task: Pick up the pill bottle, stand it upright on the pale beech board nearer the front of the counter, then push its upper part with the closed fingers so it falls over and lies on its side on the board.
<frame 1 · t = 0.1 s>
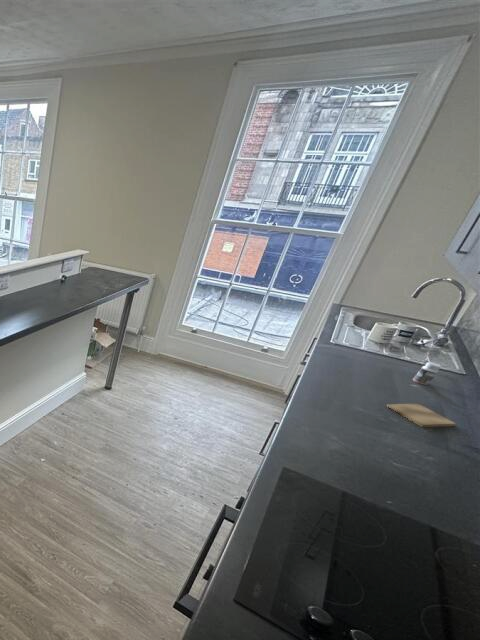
board: (418, 415, 141), on the worktop
pill bottle: (420, 382, 165), on the worktop
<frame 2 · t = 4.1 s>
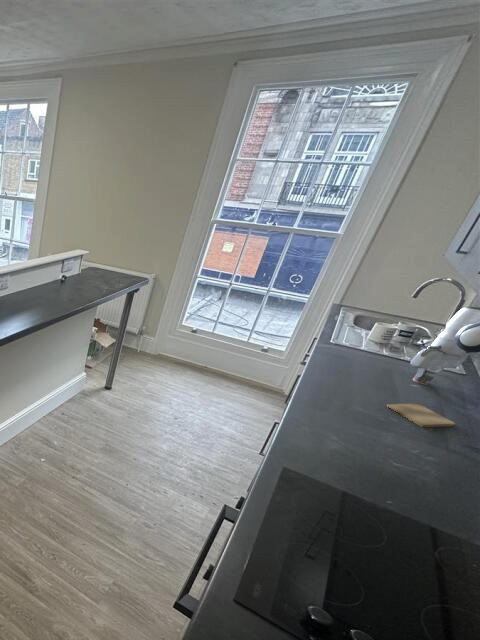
hand: (424, 376, 163), 3 cm above the worktop, tool pointing down, fingers closed on pill bottle, 5 cm apart
pill bottle: (419, 382, 165), on the worktop, touching gripper
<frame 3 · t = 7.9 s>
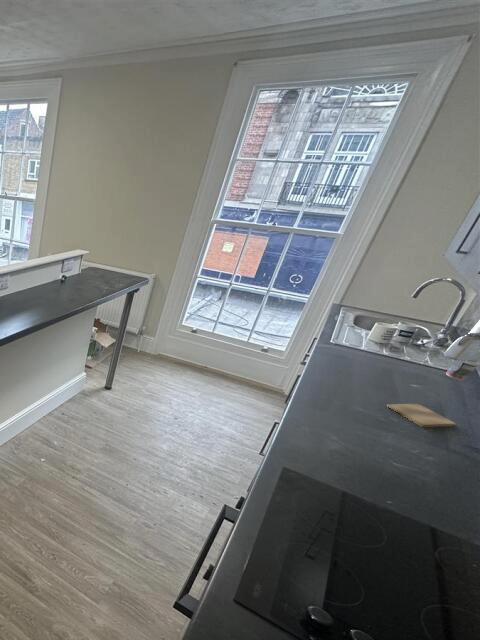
hand: (461, 370, 136), 17 cm above the worktop, tool pointing down, fingers closed on pill bottle, 5 cm apart
pill bottle: (454, 377, 137), point 14 cm above the worktop, touching gripper
when the fingers open (4 cm above the worktop, at t = 11.8 s): pill bottle stays where it is, resting on board.
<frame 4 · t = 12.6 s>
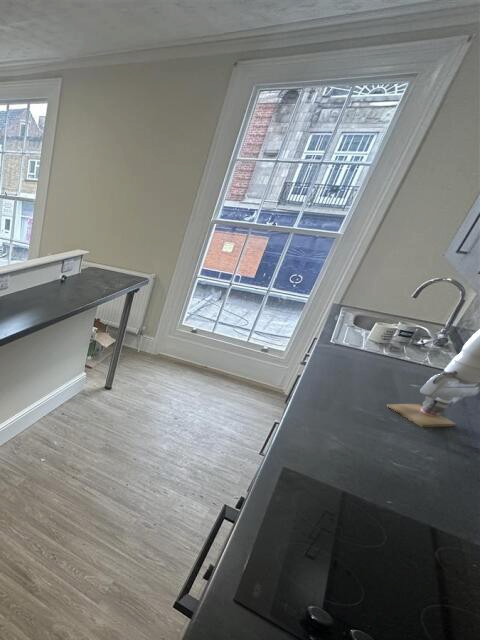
hand: (436, 405, 139), 4 cm above the worktop, tool pointing down, fingers open, 8 cm apart
pill bottle: (429, 413, 141), point 1 cm above the worktop, touching board
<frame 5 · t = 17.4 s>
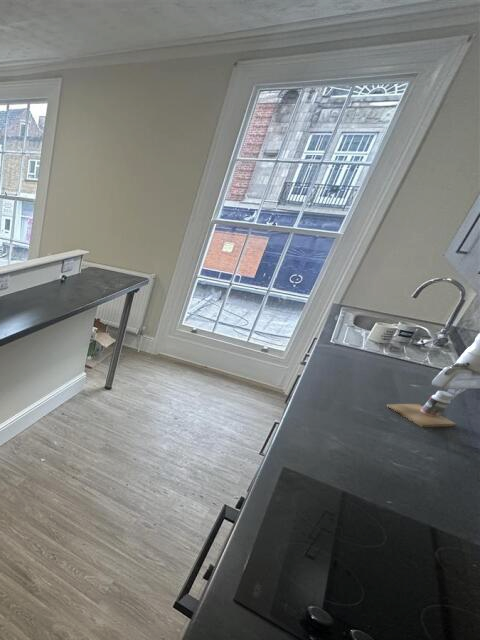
hand: (448, 397, 138), 7 cm above the worktop, tool pointing down, fingers closed, pressing on pill bottle
pill bottle: (429, 413, 141), point 1 cm above the worktop, touching board, gripper
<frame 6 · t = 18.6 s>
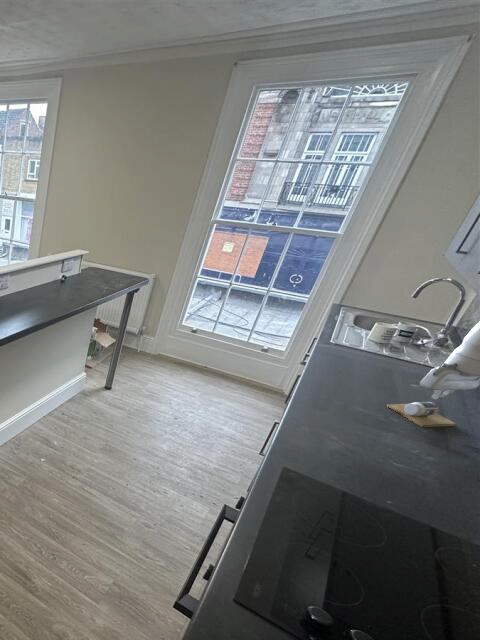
hand: (436, 398, 138), 7 cm above the worktop, tool pointing down, fingers closed
pill bottle: (430, 408, 139), point 3 cm above the worktop, touching board
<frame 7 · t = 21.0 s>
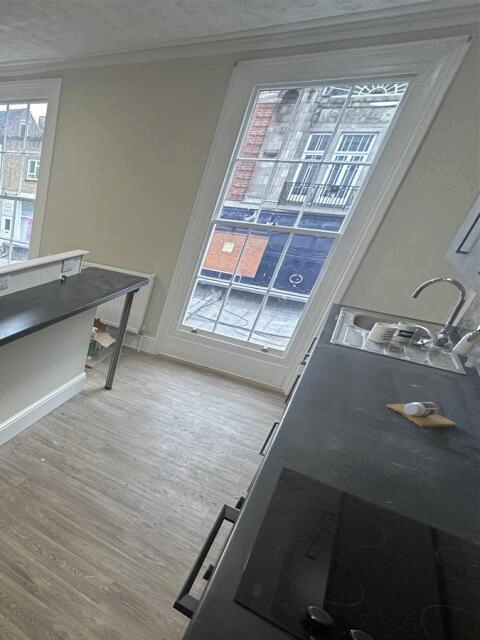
hand: (470, 366, 132), 20 cm above the worktop, tool pointing down, fingers closed
nothing on the worktop moved.
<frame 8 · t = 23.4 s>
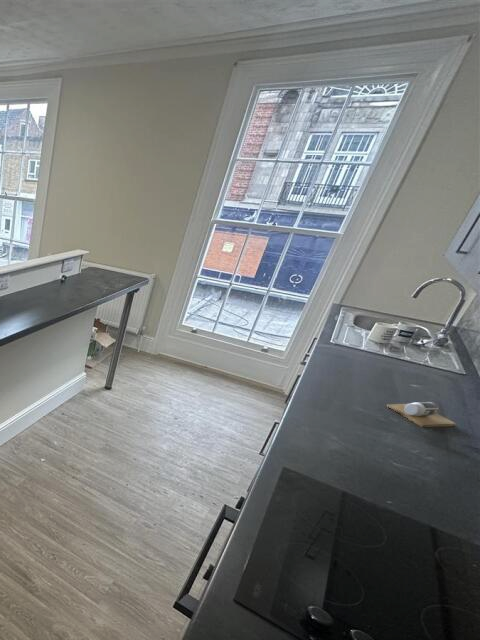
nothing on the worktop moved.
at the end: pill bottle tilted 90°; pill bottle inside the target area on the board (1.8 cm from its centre), point 3.4 cm above the board's base; the gripper is holding nothing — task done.
